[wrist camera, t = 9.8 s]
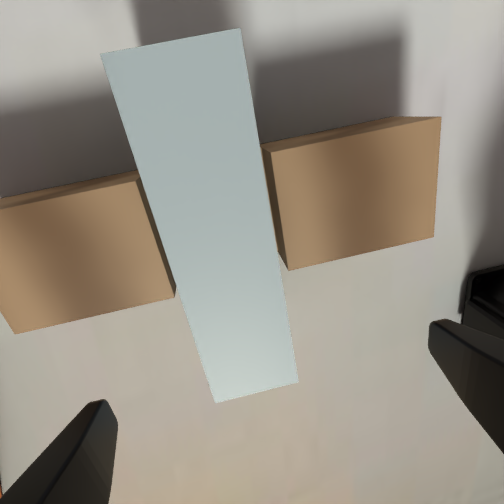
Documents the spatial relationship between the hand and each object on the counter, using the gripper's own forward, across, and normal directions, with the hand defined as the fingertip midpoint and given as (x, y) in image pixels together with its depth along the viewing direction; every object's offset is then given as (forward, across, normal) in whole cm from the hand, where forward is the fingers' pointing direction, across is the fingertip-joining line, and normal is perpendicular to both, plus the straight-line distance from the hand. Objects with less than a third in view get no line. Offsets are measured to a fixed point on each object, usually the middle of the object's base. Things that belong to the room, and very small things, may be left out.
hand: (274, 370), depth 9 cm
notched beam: (+12, +1, -2) cm, 12 cm away
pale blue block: (+10, +1, -2) cm, 10 cm away
